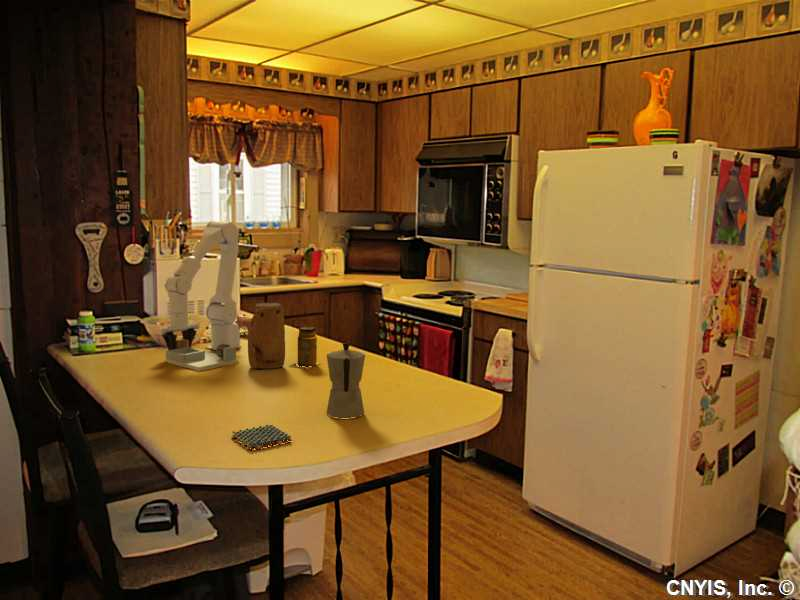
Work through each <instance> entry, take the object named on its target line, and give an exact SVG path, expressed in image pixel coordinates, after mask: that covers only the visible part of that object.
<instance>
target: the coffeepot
mask: <svg viewBox="0 0 800 600" xmlns="http://www.w3.org/2000/svg"><path fill="white" fill-rule="evenodd" d="M342 347H343V349H341V350H339V349H338V350H335V351H331V352H329V353H326V360H327V367H328V374H329V380H330V382H331V388H330V391H329V397H328V402H327V403H328V404H327V407H326V414H327V415H328V414H329V415H330V416H332V417H338V418H351V417H359V416H360V415H362V414H363V415H364V413H365V409H364V404H363V397H362V391H361V388H360V382H361V381H362V377H363V373H364V371H363V370H364V365H365V360H366V354H365V353H362V352H360V351H357V350H352V349H349V348H350V343H349V342H343V343H342ZM363 415H362V416H363ZM359 418H360V417H359Z"/></svg>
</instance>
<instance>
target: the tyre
mask: <svg viewBox="0 0 800 600" xmlns="http://www.w3.org/2000/svg"><path fill="white" fill-rule="evenodd" d="M226 347H231V346H230V345H227V344H220V345H219V346H218V347H217V350H215V351H216V352H215V354H217V356H218V357H219V358H223V348H226Z"/></svg>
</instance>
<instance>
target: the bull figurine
mask: <svg viewBox="0 0 800 600" xmlns="http://www.w3.org/2000/svg"><path fill="white" fill-rule="evenodd" d="M242 313H243V312H241V311H239V312H237V316H236V323H237V324H238V326H239V330H240V331H241V329H242V330H243V331H244V330H245V331H248V327H249V325H250V323H251V320H252V317H247V316H246V314H245V313H243V314H242ZM246 337H247V338H248V335H247V336H246Z"/></svg>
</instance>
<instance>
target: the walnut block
mask: <svg viewBox="0 0 800 600" xmlns="http://www.w3.org/2000/svg"><path fill="white" fill-rule="evenodd" d="M185 347H189V340H188V339H184V338H183V337H177V338H176V343H175V349H179V348H185Z"/></svg>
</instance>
